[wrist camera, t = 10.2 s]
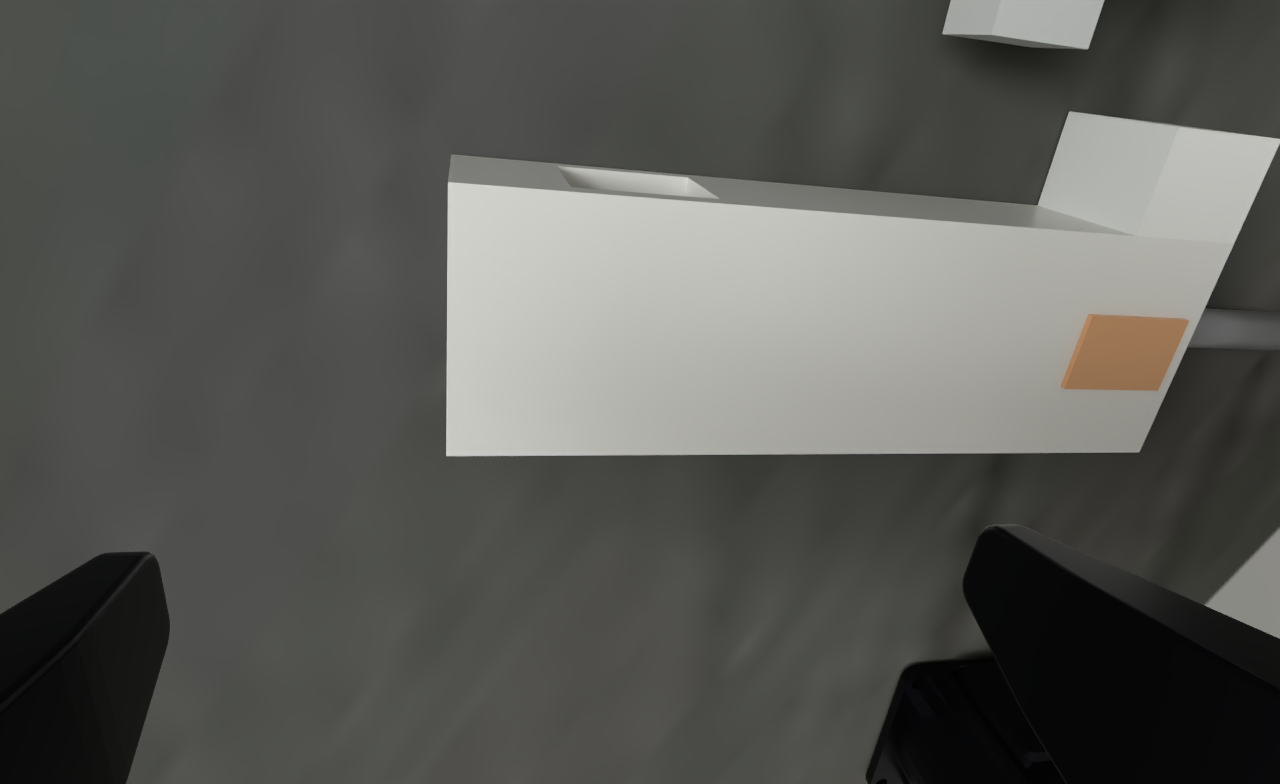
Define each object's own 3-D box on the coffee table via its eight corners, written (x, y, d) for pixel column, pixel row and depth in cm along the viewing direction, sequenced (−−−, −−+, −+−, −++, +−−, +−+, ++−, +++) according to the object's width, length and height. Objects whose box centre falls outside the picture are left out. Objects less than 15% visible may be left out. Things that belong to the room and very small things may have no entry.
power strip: (1200, 400, 26) (1305, 454, 22) (449, 389, 20) (446, 459, 16) (1323, 142, 22) (1470, 162, 19) (451, 34, 16) (448, 36, 13)
